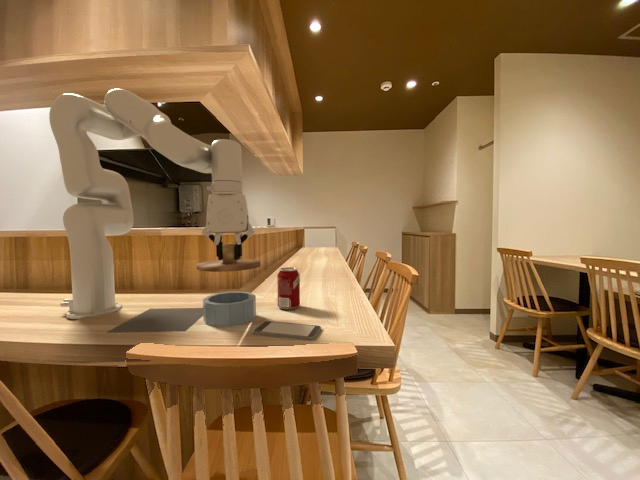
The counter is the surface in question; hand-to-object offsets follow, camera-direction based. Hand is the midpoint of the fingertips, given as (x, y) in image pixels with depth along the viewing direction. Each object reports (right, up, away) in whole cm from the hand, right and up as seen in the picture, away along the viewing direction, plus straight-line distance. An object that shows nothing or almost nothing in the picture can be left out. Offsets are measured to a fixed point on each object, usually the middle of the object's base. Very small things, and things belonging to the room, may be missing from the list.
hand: (229, 258), depth 74 cm
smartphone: (+16, -17, -7) cm, 25 cm away
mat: (-17, -16, 0) cm, 24 cm away
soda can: (+14, -16, +12) cm, 25 cm away
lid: (0, -2, 0) cm, 2 cm away
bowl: (0, -16, +1) cm, 16 cm away
